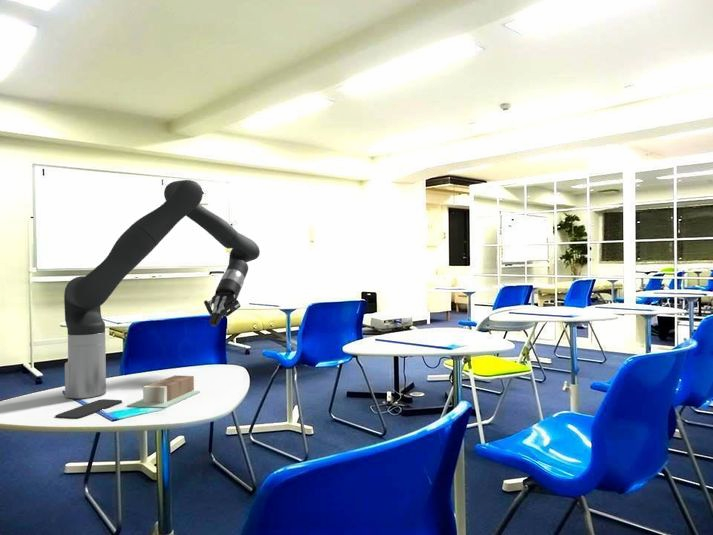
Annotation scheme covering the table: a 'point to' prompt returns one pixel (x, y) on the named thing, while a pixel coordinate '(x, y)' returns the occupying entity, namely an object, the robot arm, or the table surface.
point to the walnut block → (168, 389)
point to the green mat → (163, 405)
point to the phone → (88, 409)
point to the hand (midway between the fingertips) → (212, 324)
